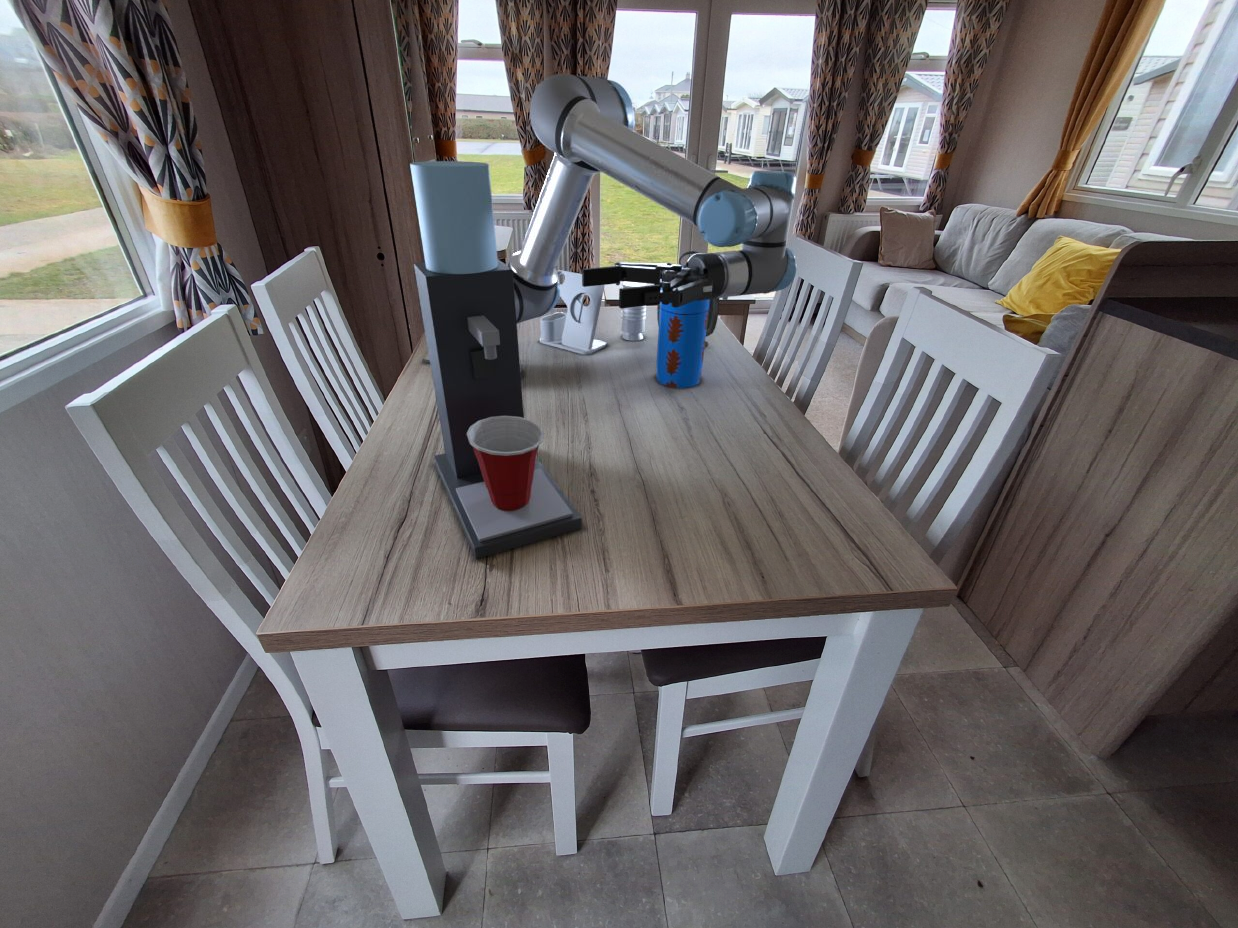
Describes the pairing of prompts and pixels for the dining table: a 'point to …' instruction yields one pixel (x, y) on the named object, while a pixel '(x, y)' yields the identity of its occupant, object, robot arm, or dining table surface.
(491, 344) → the water dispenser
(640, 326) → the silver ribbed cylinder
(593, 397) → the dining table surface
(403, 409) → the dining table surface
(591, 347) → the phone holder
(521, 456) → the plastic cup
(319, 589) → the dining table surface
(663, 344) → the thermos
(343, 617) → the dining table surface
